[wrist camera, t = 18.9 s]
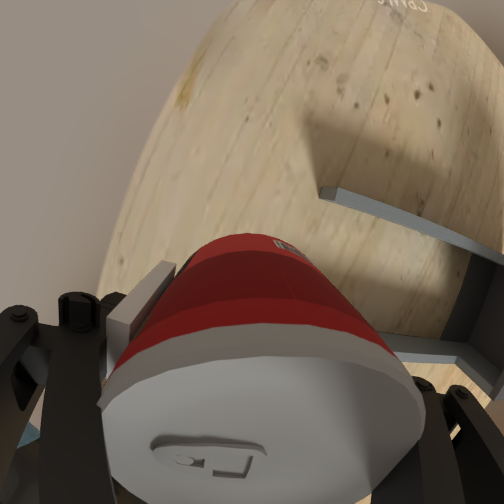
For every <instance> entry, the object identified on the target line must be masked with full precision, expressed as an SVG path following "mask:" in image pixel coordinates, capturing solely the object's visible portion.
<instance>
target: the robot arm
mask: <svg viewBox="0 0 504 504" xmlns="http://www.w3.org/2000/svg"><path fill="white" fill-rule="evenodd" d="M175 270H176V264H175V263H171V262H167V261H163V260H162V261H161V262H160V263H159V264H158V265H157V266H156V267H155V268H154V269H153V270H152V271H151V272H150V273H149V274H148V275H147V276H146V277H145V278H144V279H143V280H142V281H141V282H140V283H139V284H138V285H137V286H136V287H135V288H134V289H133V290H132V291H131V292H130V293H129V294H128V295H125V294H122V293H118V292H114V293H111V294H108V295H106V296H105V297H104V298H102V299H101V301H99V299H98V298H96V297H95V296H93V295H91V294H88V293H84V292H69V293H65V294H63V295H61V296H60V298H59V299H58V304H59V305H58V306H59V326H52V325H46V324H41V323H38V315H37V312H36V311H35V310H34V309H32V308H30V307H28V306H23V305H14V306H12V307H8V308H7V309H5V310H4V311H3V312H2V313H0V504H148V503H147V502H145V501H143V500H142V499H140V498H139V497H137V496H135V495H134V494H132V493H131V492H129V491H128V490H127V489H126V488H125V487H123V486H122V485H121V484H120V483H119V482H118V481H117V480H115V479H114V478H113V477H112V476H111V471H110V465H109V460H108V455H107V449H106V442H105V436H104V429H103V421H102V413H101V408H100V407H99V406H98V405H96V404H97V402H98V401H99V399H100V391H101V382H102V380H103V379H104V377H105V376H106V381H107V379H108V377H109V376H110V374H111V373H112V371H113V369H114V367H115V365H116V363H117V361H118V360H119V358H120V357H121V355H122V353H123V352H124V350H125V349H126V347H127V346H128V344H129V343H130V341H131V340H132V338H133V337H134V335H135V334H136V332H137V331H138V329H139V328H140V326H141V325H142V323H143V322H144V320H145V319H146V318H147V316H148V315H149V313H150V312H151V310H152V309H153V307H154V306H155V304H156V303H157V302H158V300H159V299H160V297H161V296H162V294H163V293H164V292H165V290H166V289H167V287H168V286H169V285H170V283H171V282H172V280H173V279H174V275H175ZM411 377H412V378H413V381H414V384H415V385H416V387H417V388H418V389H419V391H420V392H421V394H422V397H423V401H424V405H425V410H426V416H425V425H424V431H423V433H422V436H421V438H420V439H419V440H418V441H417V443H416V444H415V445H414V446H413V447H412V448H411V449H410V451H409V452H408V453H407V454H406V455H405V456H404V457H403V458H402V459H401V460H400V462H399V463H398V464H397V465H396V466H395V467H394V468H393V469H392V470H391V471H390V472H389V474H388V475H387V476H386V477H385V478H384V479H383V480H382V481H381V482H380V483H379V485H378V486H377V487H376V488H375V489H374V490H373V491H372V495H371V504H504V436H503V435H502V433H501V432H500V430H499V429H498V428H497V426H496V425H495V423H494V422H493V421H492V419H491V418H490V417H489V415H488V414H487V413H486V411H485V410H484V408H483V407H482V406H481V405H480V403H479V402H478V401H477V399H476V398H475V397H474V395H473V394H472V393H471V392H470V391H469V390H468V389H467V388H466V387H464V386H461V385H451V386H450V387H449V389H448V391H447V392H446V394H440V393H436V390H435V388H434V386H433V385H432V384H431V383H430V382H428V381H427V380H425V379H423V378H420V377H416V376H411ZM45 386H46V387H45ZM44 388H45V394H44V401H43V409H42V417H41V427H40V431H39V430H38V429H37V428H36V427H35V426H33V425H32V424H31V423H30V422H29V419H30V417H31V414H32V412H33V410H34V408H35V406H36V404H37V402H38V400H39V398H40V396H41V394H42V392H43V390H44ZM457 425H459V426H460V428H461V429H460V431H459V432H458V433H457V435H456V436H455V437H454V438H453V439H452V440H451V437H450V434H451V433H452V431H453V430H454V429H455V427H456V426H457Z"/></svg>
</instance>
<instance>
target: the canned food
mask: <svg viewBox="0 0 504 504" xmlns="http://www.w3.org/2000/svg"><path fill="white" fill-rule="evenodd" d="M96 405H98V406H99V407H100V408H101V413H102V421H103V429H104V436H105V442H106V449H107V455H108V460H109V465H110V471H111V476H112V477H113V478H114V479H115V480H117V481H118V482H119V483H120V484H121V485H122V486H123V487H125V488H126V489H127V490H128V491H129V492H131V493H132V494H134V495H135V496H137V497H139V498H140V499H142V500H143V501H145V502H147V503H148V504H354V503H356V502H358V501H360V500H361V499H363V498H365V497H366V496H368V495H370V494H371V493H372V491H373V490H374V489H375V488H376V487H377V486H378V485H379V483H380V482H381V481H382V480H383V479H384V478H385V477H386V476H387V475H388V474H389V472H390V471H391V470H392V469H393V468H394V467H395V466H396V465H397V464H398V463H399V462H400V460H401V459H402V458H403V457H404V456H405V455H406V454H407V453H408V452H409V451H410V449H411V448H412V447H413V446H414V445H415V444H416V443H417V441H418V440H419V439H420V438H421V436H422V433H423V431H424V425H425V416H426V410H425V405H424V401H423V397H422V394H421V392H420V391H419V389H418V388H417V387H416V385H415V384H414V381H413V378H412V377H411V375H410V374H409V372H408V371H407V369H406V368H405V367H404V365H403V364H402V362H401V361H400V360H399V359H398V358H397V356H396V355H395V354H394V353H393V352H392V351H391V349H390V348H389V347H388V346H387V345H386V343H385V342H384V341H383V339H382V338H381V337H380V335H379V334H378V333H377V332H376V331H375V330H374V329H373V328H372V327H371V325H370V324H369V323H368V322H367V321H366V320H365V319H364V318H363V317H362V316H361V314H360V313H359V312H358V311H357V310H356V309H355V308H354V307H353V306H352V305H351V304H350V303H349V301H348V300H347V299H346V298H345V297H344V296H343V295H342V294H341V293H340V292H339V291H338V290H337V289H336V288H335V287H334V285H333V284H332V283H331V282H330V281H329V280H328V279H327V278H326V277H325V276H324V275H323V274H322V273H321V272H320V271H319V270H318V269H317V268H316V267H315V265H314V264H313V263H312V262H311V261H310V260H309V259H308V258H307V257H306V256H305V255H304V254H302V253H301V252H300V251H299V250H297V249H296V248H295V247H293V246H292V245H290V244H288V243H286V242H284V241H282V240H280V239H277V238H274V237H270V236H267V235H263V234H251V233H244V234H235V235H229V236H226V237H222V238H219V239H216V240H214V241H212V242H210V243H208V244H206V245H204V246H203V247H201V248H200V249H199V250H197V251H196V252H195V253H194V254H193V255H192V256H190V257H189V259H188V260H187V261H186V263H185V264H184V265H183V266H182V268H181V269H180V271H179V272H178V273H177V275H176V276H175V278H174V279H173V280H172V282H171V283H170V285H169V286H168V287H167V289H166V290H165V292H164V293H163V294H162V296H161V297H160V299H159V300H158V302H157V303H156V304H155V306H154V307H153V309H152V310H151V312H150V313H149V315H148V316H147V318H146V319H145V320H144V322H143V323H142V325H141V326H140V328H139V329H138V331H137V332H136V334H135V335H134V337H133V338H132V340H131V341H130V343H129V344H128V346H127V347H126V349H125V350H124V352H123V353H122V355H121V357H120V358H119V360H118V361H117V363H116V365H115V367H114V369H113V371H112V373H111V374H110V376H109V377H108V379H107V381H106V382H105V384H104V386H103V387H102V389H101V391H100V399H99V401H98V402H97V404H96Z"/></svg>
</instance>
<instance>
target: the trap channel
mask: <svg viewBox="0 0 504 504" xmlns="http://www.w3.org/2000/svg"><path fill="white" fill-rule="evenodd" d="M319 198H320V199H323V200H326V201H330V202H333V203H336V204H339V205H343V206H346V207H349V208H352V209H355V210H358V211H361V212H364V213H367V214H370V215H373V216H376V217H379V218H382V219H385V220H388V221H391V222H394V223H396V224H399V225H402V226H405V227H408V228H410V229H413V230H416V231H418V232H421V233H424V234H426V235H429V236H432V237H434V238H437V239H439V240H442V241H444V242H447V243H449V244H452V245H454V246H457V247H459V248H461V249H464V250H466V251H469V252H471V253H472V256H471V260H470V263H469V266H468V269H467V272H466V275H465V278H464V281H463V284H462V287H461V290H460V292H459V295H458V298H457V300H456V303H455V305H454V308H453V310H452V313H451V315H450V318H449V320H448V322H447V325H446V327H445V329H444V331H443V334H442V336H441V338H440V339H431V338H422V337H414V336H406V335H398V334H391V333H384V332H377V331H376V332H377V333H378V334H379V335H380V337H381V338H382V339H383V341H384V342H385V343H386V345H387V346H388V347H389V348H390V349H391V351H392V352H393V353H394V354H395V355H396V356H397V358H398V359H399V360H400V361H401V362H415V363H440V364H456V365H457V366H458V367H459V368H460V369H461V370H462V371H463V372H464V373H465V374H466V375H467V376H468V377H469V378H470V379H471V380H472V381H473V382H474V383H475V384H476V385H478V386H479V387H480V388H481V389H482V390H483V391H484V392H485V393H486V394H487V395H488V396H489V397H490V398H491V399H492V400H493V401H497V400H502V399H504V255H503V254H500V253H498V252H496V251H494V250H492V249H490V248H488V247H486V246H484V245H482V244H480V243H478V242H476V241H474V240H471V239H469V238H467V237H465V236H463V235H461V234H458V233H456V232H454V231H452V230H449V229H447V228H445V227H443V226H440V225H438V224H436V223H433V222H431V221H428V220H426V219H424V218H421V217H419V216H416V215H414V214H411V213H409V212H406V211H403V210H401V209H398V208H396V207H393V206H390V205H388V204H385V203H382V202H379V201H377V200H374V199H371V198H368V197H365V196H363V195H360V194H357V193H354V192H351V191H348V190H345V189H342V188H339V187H322V189H321V193H320V197H319Z"/></svg>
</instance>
